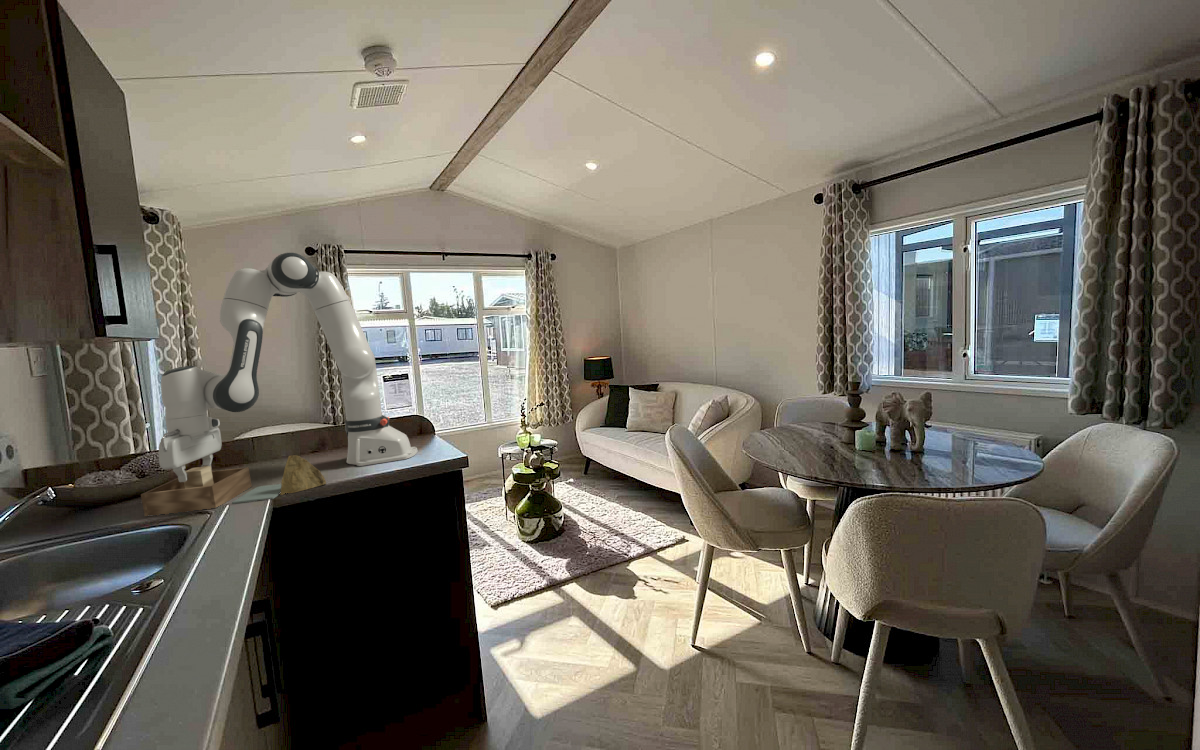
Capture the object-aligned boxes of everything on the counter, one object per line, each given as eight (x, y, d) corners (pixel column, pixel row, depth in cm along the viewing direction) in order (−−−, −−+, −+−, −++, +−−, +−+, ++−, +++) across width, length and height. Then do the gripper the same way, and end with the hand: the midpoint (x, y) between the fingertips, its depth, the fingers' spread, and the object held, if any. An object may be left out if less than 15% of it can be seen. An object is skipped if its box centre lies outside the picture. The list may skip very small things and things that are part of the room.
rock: (334, 472, 148) (299, 470, 148) (325, 454, 143) (289, 452, 142) (318, 504, 141) (282, 502, 140) (308, 486, 135) (270, 484, 134)
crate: (251, 486, 148) (248, 467, 147) (215, 508, 131) (212, 486, 130) (189, 494, 146) (186, 474, 145) (144, 516, 128) (140, 494, 128)
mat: (294, 484, 147) (294, 482, 147) (272, 499, 135) (272, 497, 135) (257, 488, 146) (257, 486, 146) (232, 503, 133) (231, 502, 133)
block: (214, 490, 140) (210, 465, 140) (204, 495, 136) (200, 470, 135) (197, 492, 140) (192, 467, 139) (186, 497, 135) (182, 472, 135)
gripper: (174, 433, 126) (183, 486, 127) (223, 418, 146) (229, 464, 148) (146, 435, 125) (155, 489, 127) (199, 420, 145) (206, 467, 147)
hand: (195, 476), depth 137 cm, fingers open, 8 cm apart
